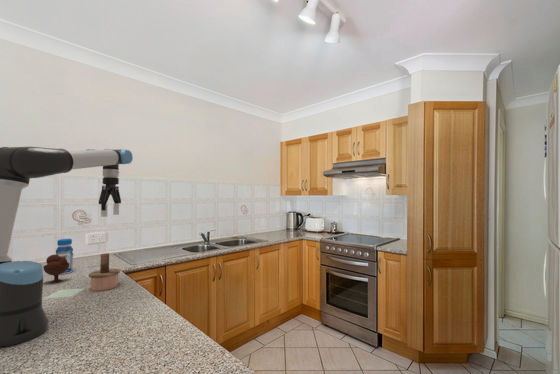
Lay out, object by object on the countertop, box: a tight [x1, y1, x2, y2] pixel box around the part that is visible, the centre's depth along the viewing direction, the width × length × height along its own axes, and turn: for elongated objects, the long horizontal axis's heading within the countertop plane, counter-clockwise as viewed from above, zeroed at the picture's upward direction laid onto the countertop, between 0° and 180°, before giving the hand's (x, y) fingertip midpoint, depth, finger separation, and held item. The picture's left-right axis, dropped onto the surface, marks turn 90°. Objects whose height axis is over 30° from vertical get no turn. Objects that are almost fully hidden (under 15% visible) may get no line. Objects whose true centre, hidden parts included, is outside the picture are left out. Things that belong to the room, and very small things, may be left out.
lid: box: [88, 252, 121, 279], centre depth 131 cm, size 13×13×10 cm
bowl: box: [90, 273, 119, 292], centre depth 130 cm, size 11×11×7 cm
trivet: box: [43, 288, 86, 300], centre depth 122 cm, size 11×11×1 cm
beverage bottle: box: [55, 238, 74, 275], centre depth 158 cm, size 8×8×20 cm
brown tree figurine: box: [42, 254, 70, 284], centre depth 140 cm, size 11×11×15 cm
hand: (110, 215), depth 145 cm, fingers open, 13 cm apart
